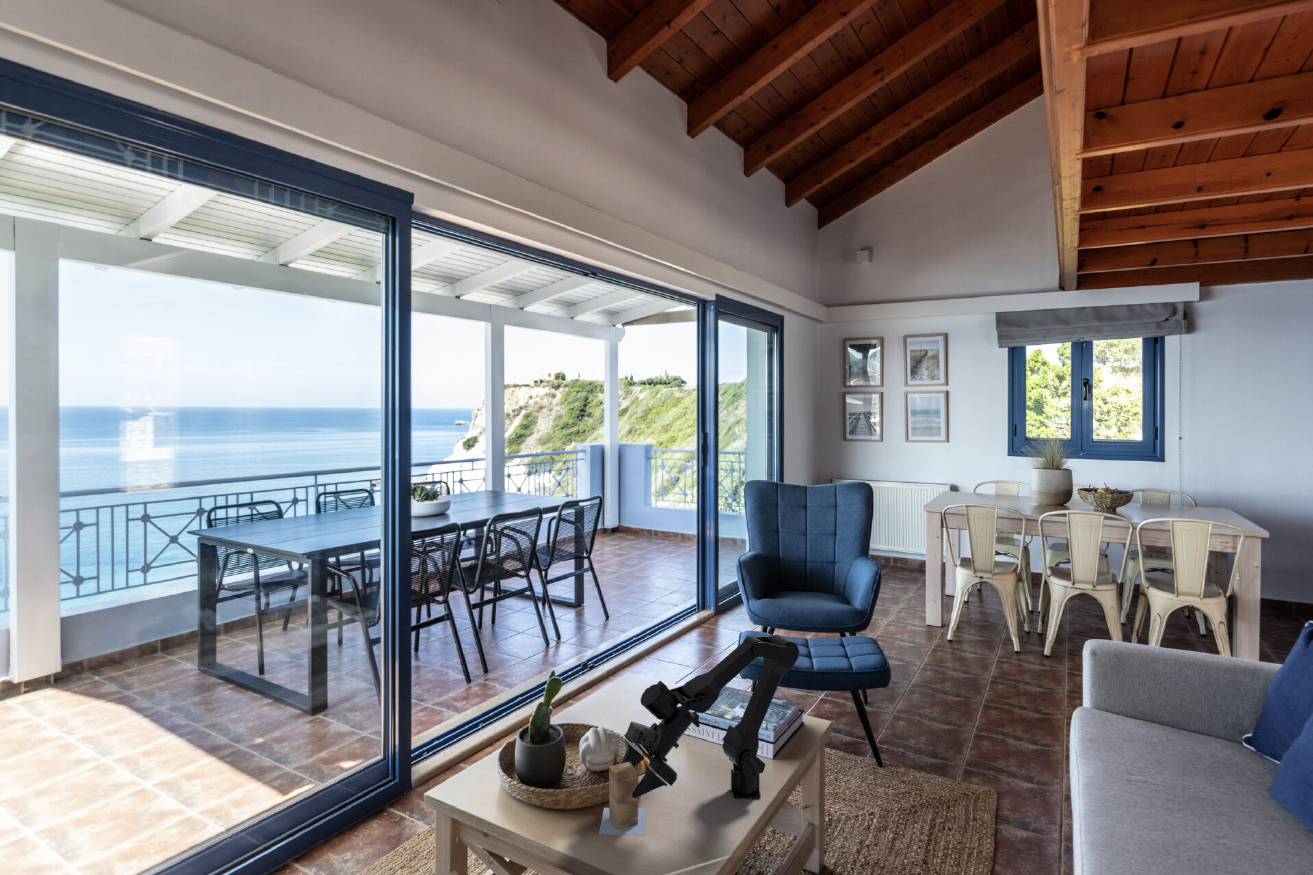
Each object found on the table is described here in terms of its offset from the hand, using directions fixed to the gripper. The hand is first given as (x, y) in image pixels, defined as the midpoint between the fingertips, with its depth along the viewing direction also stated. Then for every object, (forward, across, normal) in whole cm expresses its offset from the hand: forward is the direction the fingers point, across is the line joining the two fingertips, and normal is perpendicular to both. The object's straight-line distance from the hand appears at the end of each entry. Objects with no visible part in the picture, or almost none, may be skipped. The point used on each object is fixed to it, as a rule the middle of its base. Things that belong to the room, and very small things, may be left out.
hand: (625, 786), depth 157 cm
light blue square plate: (+6, 0, +6) cm, 8 cm away
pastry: (-2, -20, +14) cm, 24 cm away
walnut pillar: (+6, 0, +5) cm, 8 cm away
